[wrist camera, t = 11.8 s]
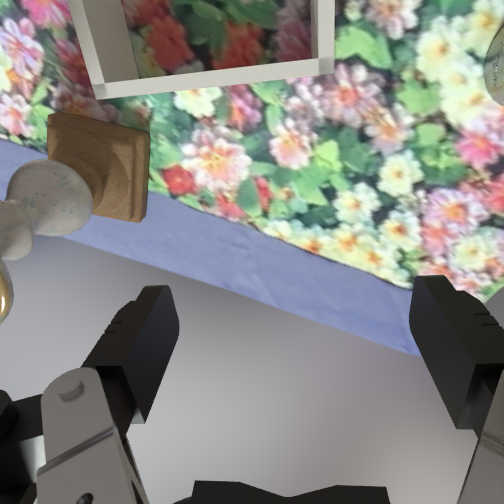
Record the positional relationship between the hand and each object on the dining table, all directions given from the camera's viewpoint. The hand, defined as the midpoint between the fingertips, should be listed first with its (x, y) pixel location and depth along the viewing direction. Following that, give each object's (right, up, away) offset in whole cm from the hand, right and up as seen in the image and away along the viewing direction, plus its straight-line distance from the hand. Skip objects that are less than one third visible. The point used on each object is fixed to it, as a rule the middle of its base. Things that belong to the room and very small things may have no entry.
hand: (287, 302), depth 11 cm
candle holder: (-19, +12, +30) cm, 37 cm away
